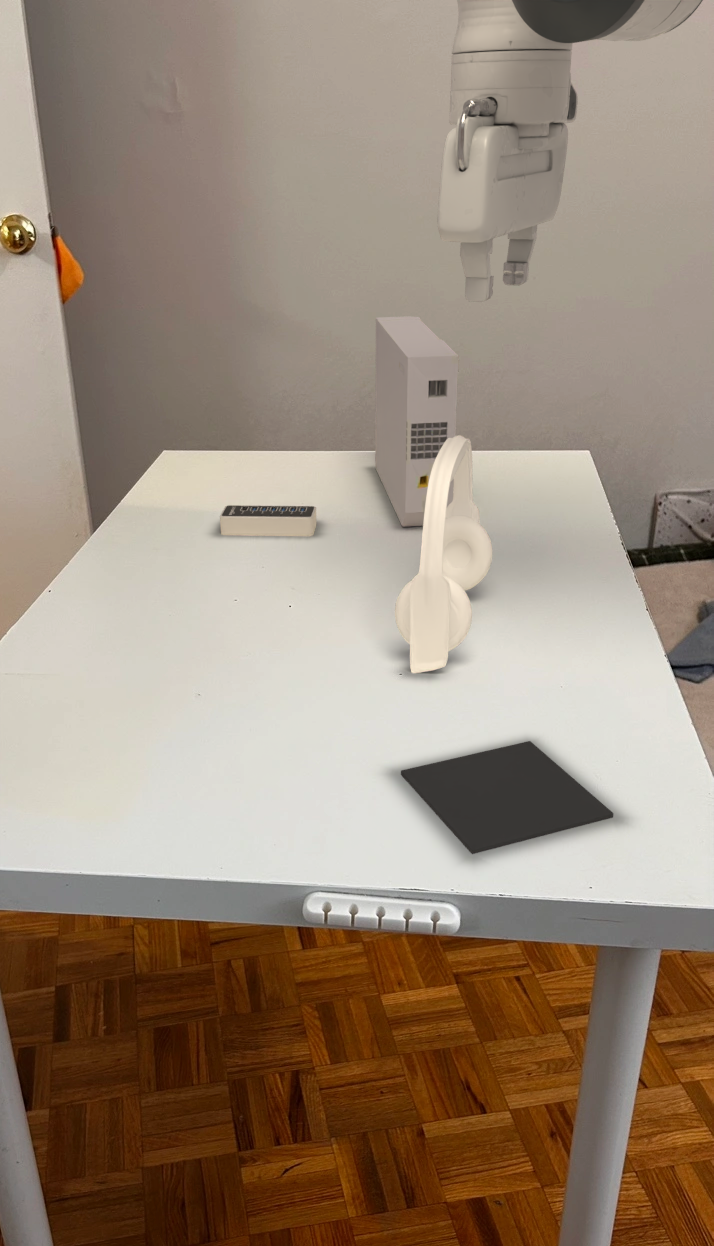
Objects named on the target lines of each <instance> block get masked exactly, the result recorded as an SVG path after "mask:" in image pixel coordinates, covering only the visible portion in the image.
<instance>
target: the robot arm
mask: <svg viewBox="0 0 714 1246" xmlns="http://www.w3.org/2000/svg"><path fill="white" fill-rule="evenodd" d="M703 1H704V0H456V2H457V9H458V10H457V11H458V18H457V28H456V33H455V36H454V39H453V43H452V48H451V64H450V65H451V69H450V91H449V92H450V93H449V119H448V121H449V122H448V123H449V125H453V126H455V127H453V128H452V129H450V130H449V132H448V133H447V135H446V138H445V141H444V146H443V152H442V157H441V165H440V179H439V188H438V201H437V202H438V203H437V215H436V217H437V218H436V219H437V221H436V222H437V230H438V233H439V238H440V239H441V241H442V242H446V243H460V245H459V247H460V251H459V256H460V260H461V263H462V264H461V265H462V270H463V273H464V278H465V287H464V297H465V299H466V300H467V301H468V302H470V303H471V302H472V303H484V302H486V301H488V300H489V299H491V298H492V297H493V293H494V292H493V286H494V275H491V254H492V253H493V247H494V239H496V238H500V237H503V236H506V235H507V239H508V247H507V255H506V261H505V262H503V268H502V269H503V270H502V271H503V275H502V282H503V284H504V285H505V286H513V287H514V286H515V287H520V286H521V285H524V284H526V283H527V282H528V280H529V273H530V262H531V259H532V256H533V255H532V254H533V252H534V248H535V244H536V241H537V234H538V225H541V224H545V223H547V222H550V221H552V220H553V219H555V217H556V213H557V211H558V208H559V204H560V200H561V196H562V187H563V183H564V182H563V181H564V174H565V169H566V162H567V161H566V160H567V153H568V143H569V129H568V126H567V124H571V123H574V122H575V120H576V119H577V113H578V101H579V98H578V96H579V95H578V93H577V91H576V88H575V87H574V86H573V83H572V73H571V66H572V54H573V52H572V51H573V44H576V43H582V42H589V41H595V40H598V41H608V42H609V41H610V42H641V41H647V40H651V39H655V38H657V37H659V36H661V35H664V34H667V33H669V32H671V31H672V30H675V29H676V28H678V27H679V26H681V25H682V24H683V23H685V22H686V21H687V20H688V19H689V18H690V17H691V16H692V15H693V14H694V13H695V11H696V10H697V9H698V8H699V7H700V5H701V4H702V2H703Z"/></svg>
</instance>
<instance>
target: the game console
mask: <svg viewBox="0 0 714 1246" xmlns="http://www.w3.org/2000/svg"><path fill="white" fill-rule="evenodd" d="M459 357H460V356H459V354H458V353H456V352H455V350H453V349H452V348H451V347H450V346H449V345H448V344H447V343H446V341H445V340H444V339H441V338H440V337H438V335H436V333H435V332H433V330H431V329H430V328H429V327H428V325H426V324H425V322H423V321H422V319H421V316H413V315H407V316H405V315H403V316H380V317H375V399H374V400H375V401H374V402H375V404H374V405H375V408H374V409H375V414H374V416H375V417H374V418H375V419H374V420H375V423H374V424H375V425H374V427H375V428H374V429H375V433H374V435H375V439H374V440H375V441H374V442H375V444H374V449H375V450H374V469H375V470H376V473H377V474H378V477H379V479H380V481H381V484H382V485H383V489H384V490H385V493H386V494H387V497H388V499H389V501H390V504H391V506H392V508H393V510H394V512H395V514H396V516H397V518H398V520H399V523H400V525H401V527H402V528H404V527H407V528H408V527H423V522H424V512H425V503H426V496H427V489H428V484H429V479H430V474H431V471H432V467H433V464H434V462H435V459H436V457H437V455H438V453H439V451H440V449H441V447H442V446H443V444H444V442H445V441H446V440H447V439H448V438H453V437H455V436H457V409H458V385H459V384H458V383H459V372H460V371H459V370H460V359H459ZM453 493H454V479H453V480H452V481H451V482H450V487H449V493H448V500H447V507H448V505H449V504H450V503H451V502H452V501H453Z"/></svg>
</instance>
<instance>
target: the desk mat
mask: <svg viewBox="0 0 714 1246" xmlns="http://www.w3.org/2000/svg"><path fill="white" fill-rule="evenodd" d="M400 775H401V777H402V778H403V779H404V780H405V781H406V782H407V783H408V784H409V786H410V787H411V788H412V789H413V790H414V791H415V792H416V793H417V794H418V795H419V797H420V798H421V799H422V800H423V802H425V803H426V805H427V806H428V807H429V809H431V810H432V811H433V812H434V814H435V815H436V816H437V817H438V818H439V819H440V820H441V821H442V822H443V824H444V825H445V826H446V827H447V828H448V829H449V830H450V831H451V833H452V834H453V835H454V836H455V837H456V839H458V841H459V842H460V843H461V844H462V845H463V846H464V847H465V848H466V849H467V850H468V852H469V853H470V854H471V855H475V854H478V853H482V852H486V851H489V850H494V849H498V848H502V847H506V846H509V845H514V844H517V843H521V842H524V841H529V840H533V839H537V838H540V837H544V836H547V835H552V834H556V833H560V832H563V831H566V830H571V829H574V828H578V827H582V826H586V825H590V824H595V823H598V822H601V821H605V820H609V819H612V818H614V812H613V811H611V810H610V808H608V807H607V806H606V805H605V804H604V803H602V802H601V801H600V800H599V798H597V797H596V796H594V795H593V794H592V793H591V792H590V791H589V790H587V789H586V788H585V787H584V786H583V785H582V784H580V782H578V781H577V780H576V779H575V778H573V776H572V775H570V774H569V773H568V772H567V771H565V770H564V769H563V768H562V767H561V766H560V765H558V764H557V762H555V761H554V760H553V759H552V758H550V756H548V755H547V754H546V753H545V752H543V751H542V750H541V749H540V748H539V747H538V746H537V745H535V744H534V743H533V742H532V741H531V740H527V741H524V742H519V743H514V744H509V745H506V746H502V747H498V748H497V747H496V748H494V749H489V750H488V749H487V750H485V751H479V752H475V753H472V754H471V753H470V754H467V755H461V756H457V757H453V758H450V759H449V758H448V759H445V760H440V761H437V762H432V763H427V764H423V765H419V766H413V767H410V768H404V769H402V770H400Z"/></svg>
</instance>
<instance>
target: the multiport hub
mask: <svg viewBox="0 0 714 1246" xmlns="http://www.w3.org/2000/svg"><path fill="white" fill-rule="evenodd" d="M317 525H318V523H317V507H316V506H313V505H239V504H238V505H232V504H231V505H230V504H229V505H226V506H224V508H223V510H222V511H221V513H220V515H219V526H220V535H221V536H247V537H249V536H250V537H251V536H254V537H256V536H257V537H313V536H314V535H315V531H316V528H317Z"/></svg>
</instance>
